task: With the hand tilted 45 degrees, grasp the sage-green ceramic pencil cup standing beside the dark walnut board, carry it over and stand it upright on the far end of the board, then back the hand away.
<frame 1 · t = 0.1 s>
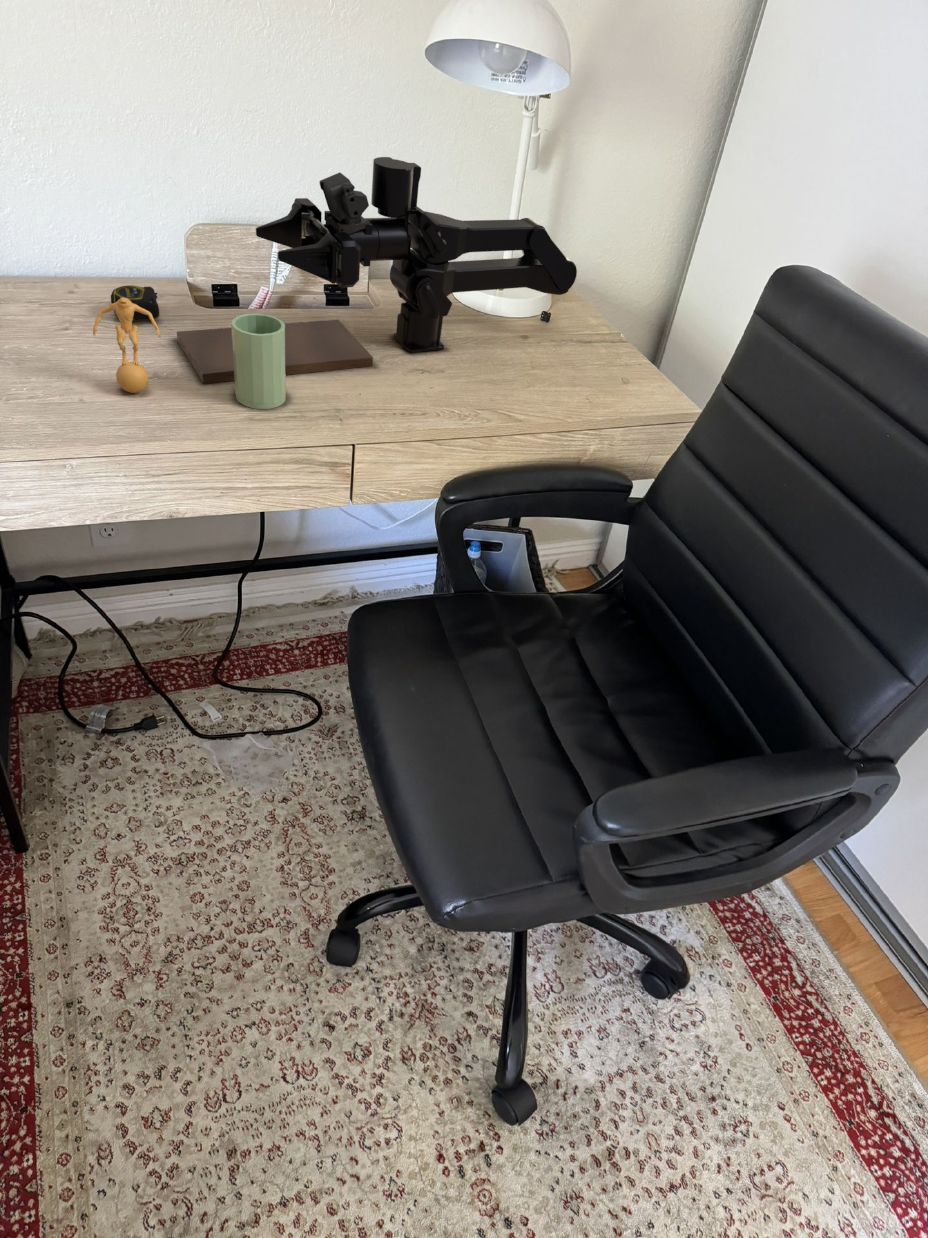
hand: (266, 243, 111), 17 cm above the table, tool horizontal, fingers open, 9 cm apart
pencil cup: (260, 397, 113), on the table
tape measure: (141, 316, 126), on the table
figurine: (134, 388, 110), on the table
walnut board: (276, 353, 123), on the table
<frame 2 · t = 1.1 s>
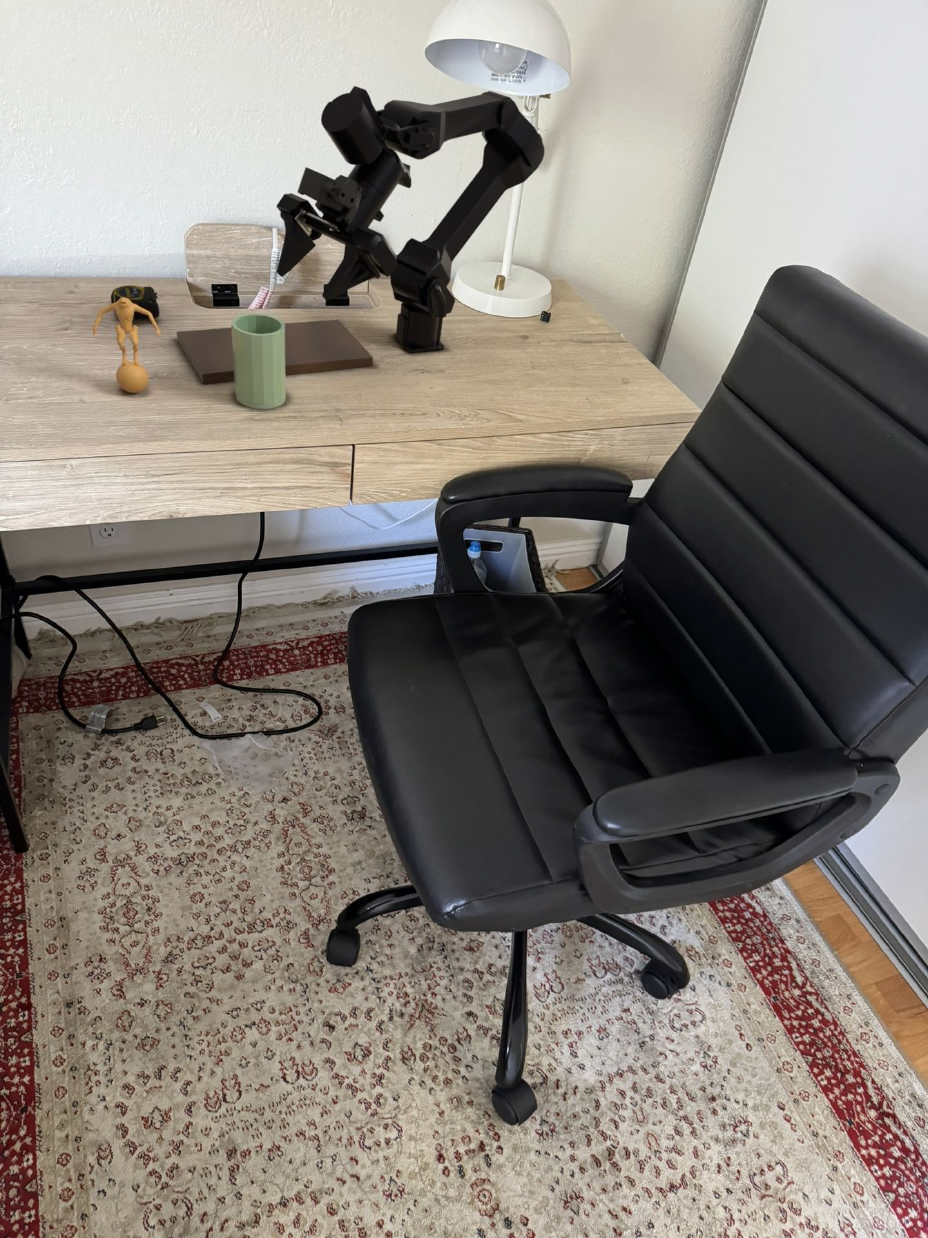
hand: (301, 286, 108), 14 cm above the table, tool tilted 45°, fingers open, 9 cm apart
nothing on the table moved.
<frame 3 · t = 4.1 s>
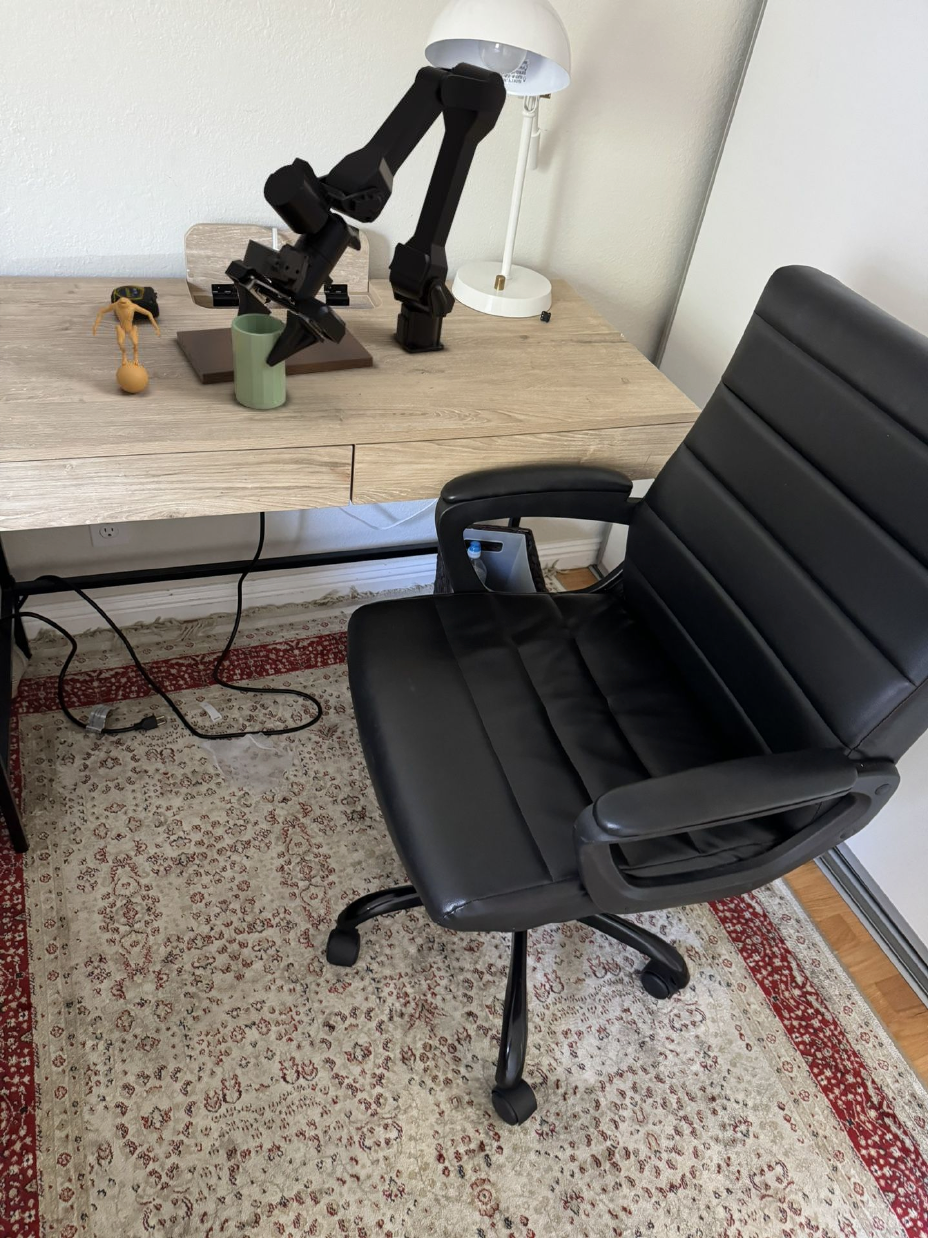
hand: (251, 354, 107), 7 cm above the table, tool tilted 45°, fingers closed on pencil cup, 7 cm apart
pencil cup: (260, 397, 113), on the table, touching gripper
everything else where it was.
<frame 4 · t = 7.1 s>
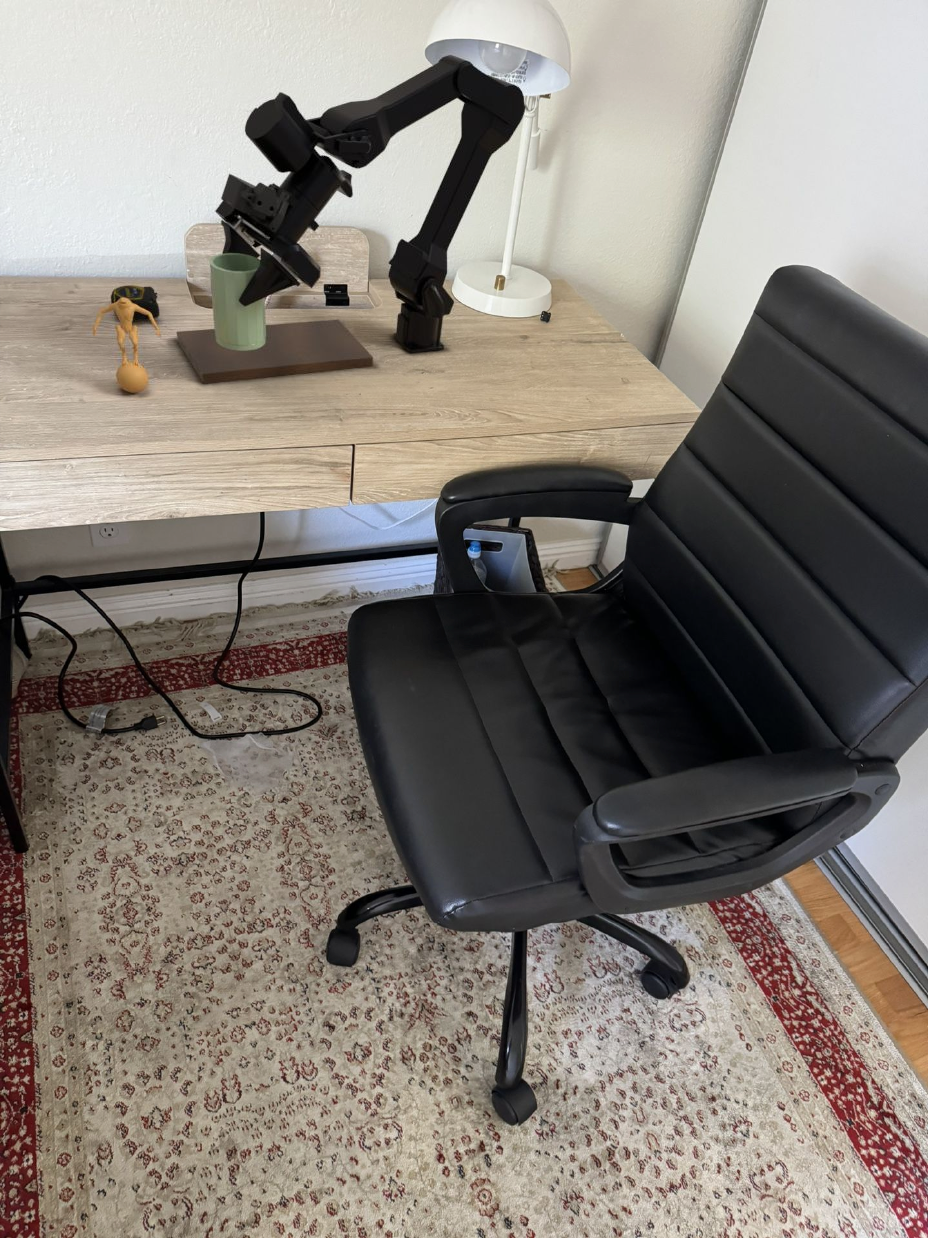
hand: (228, 293, 107), 12 cm above the table, tool tilted 45°, fingers closed on pencil cup, 7 cm apart
pencil cup: (240, 339, 112), point 6 cm above the table, touching gripper
everything else where it was.
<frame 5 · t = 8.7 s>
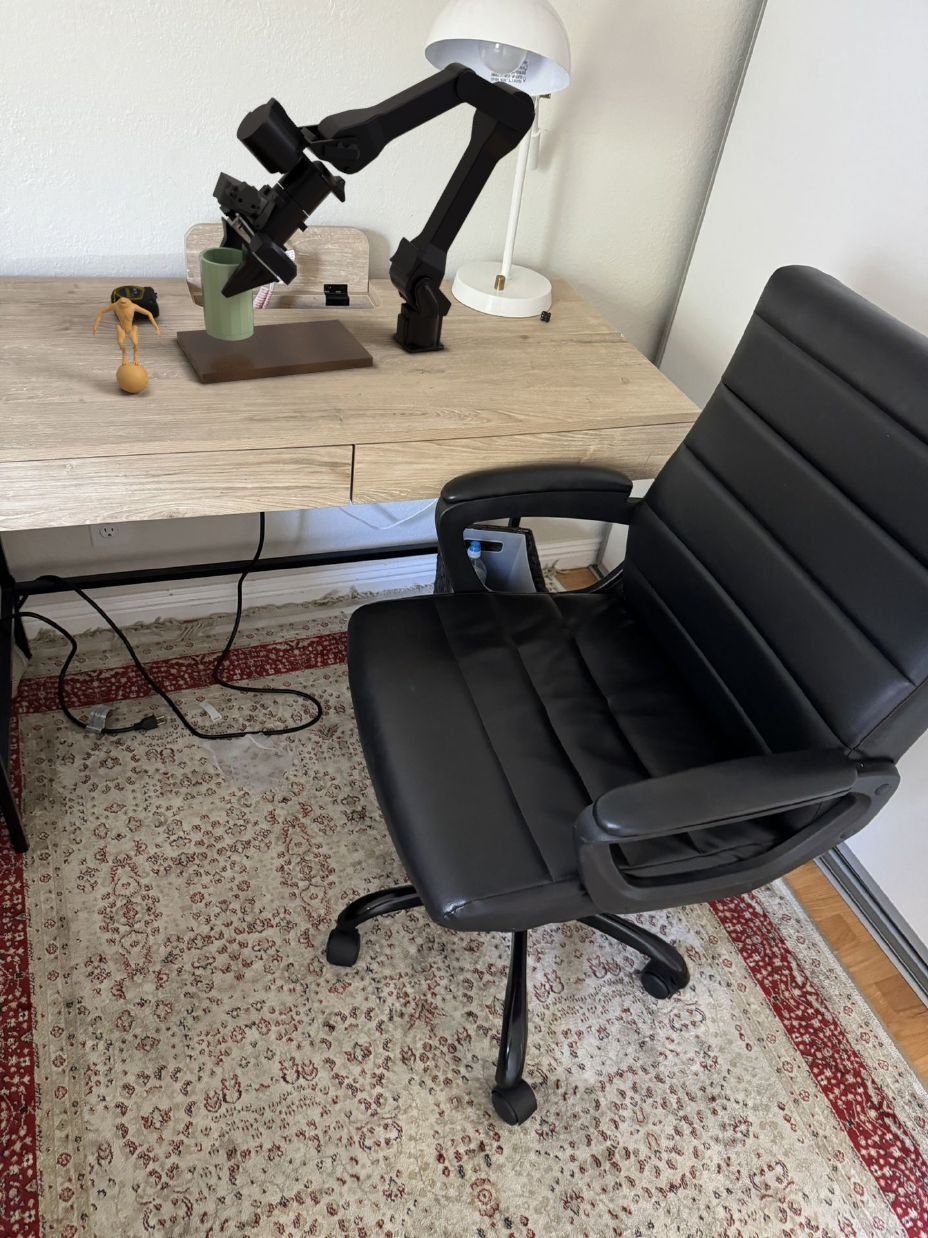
hand: (217, 285, 112), 11 cm above the table, tool tilted 45°, fingers closed on pencil cup, 7 cm apart
pencil cup: (229, 330, 117), point 4 cm above the table, touching gripper
everything else where it was.
when the fingers open (8 cm above the table, at t = 10.1 s): pencil cup stays where it is, resting on walnut board.
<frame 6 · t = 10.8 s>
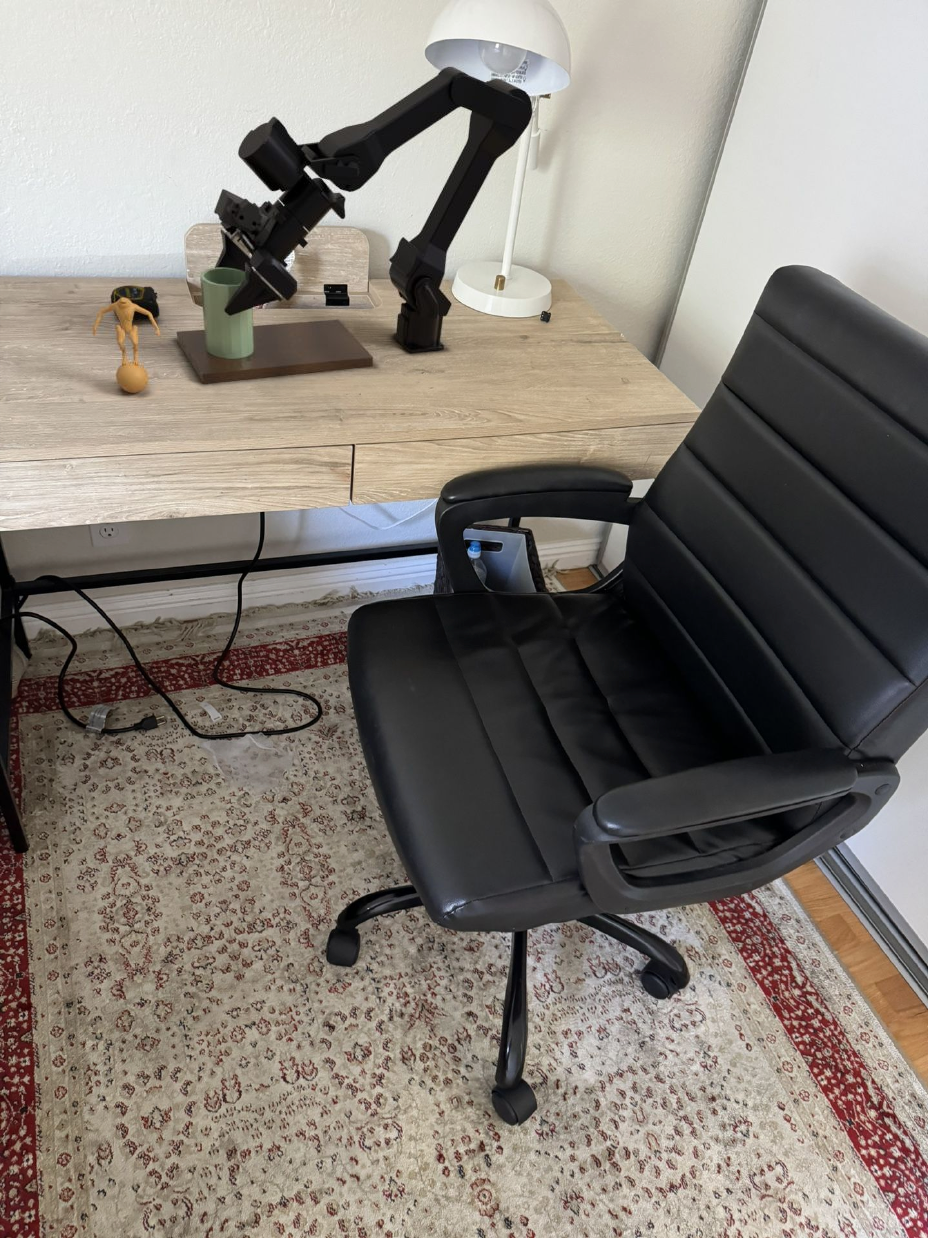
hand: (218, 299, 114), 9 cm above the table, tool tilted 45°, fingers open, 9 cm apart
pencil cup: (230, 348, 119), point 1 cm above the table, touching walnut board
everything else where it was.
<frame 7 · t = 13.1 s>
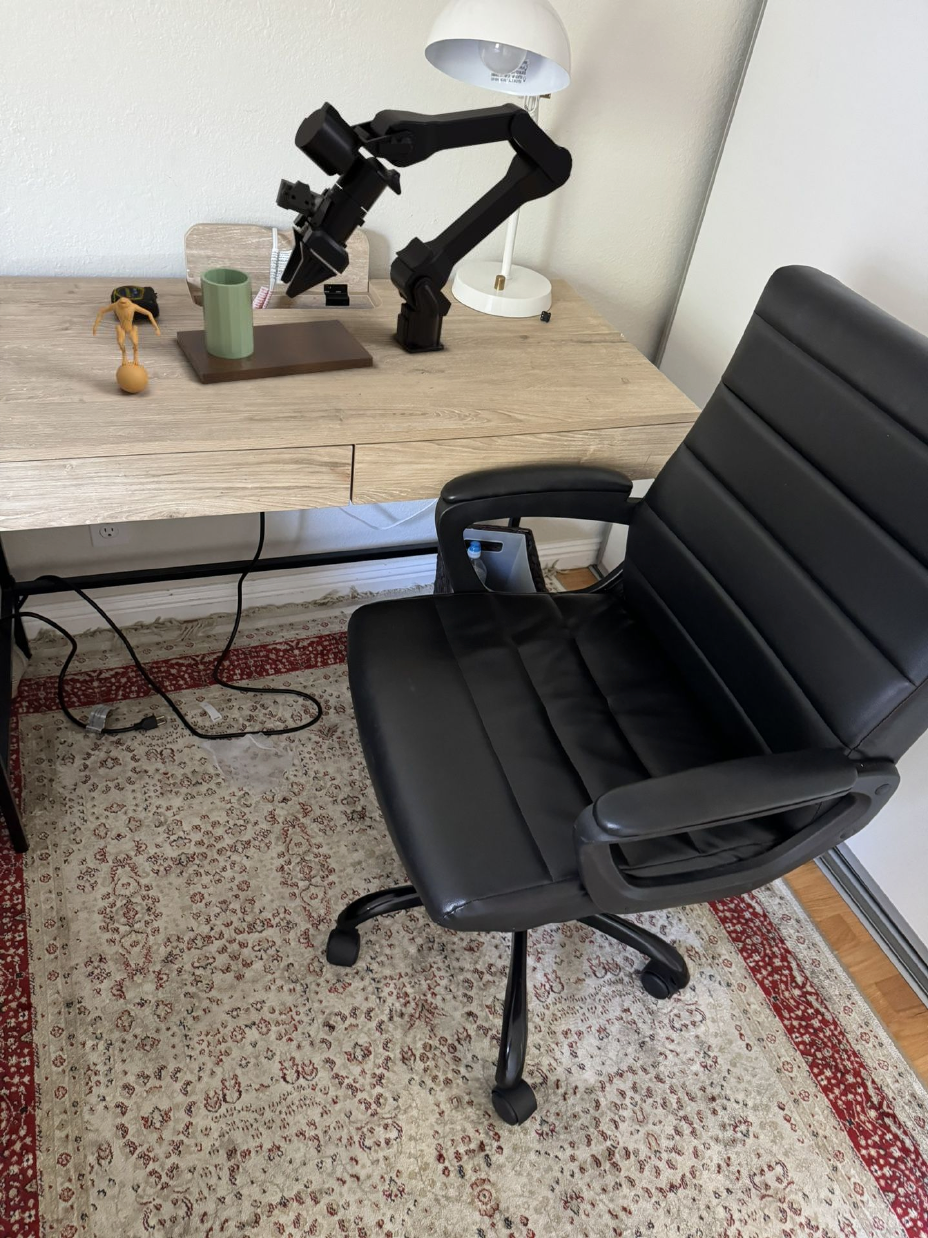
hand: (285, 288, 117), 10 cm above the table, tool tilted 40°, fingers open, 9 cm apart
nothing on the table moved.
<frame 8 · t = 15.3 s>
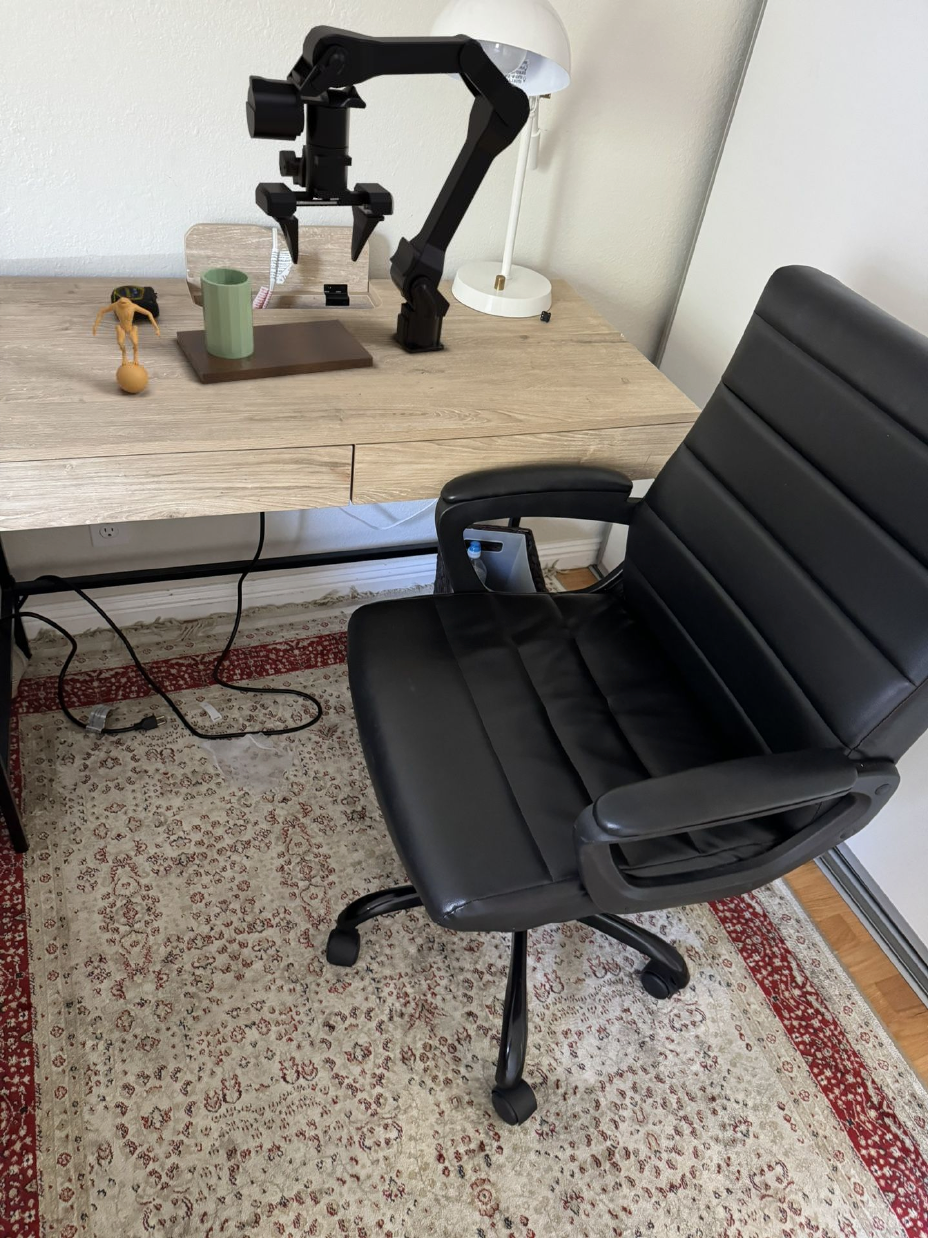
hand: (324, 261, 118), 13 cm above the table, tool pointing down, fingers open, 9 cm apart
nothing on the table moved.
at the end: pencil cup inside the target area on the walnut board (7.0 cm from its centre), point 1.5 cm above the walnut board's base; pencil cup tilted 0°; the gripper is holding nothing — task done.
